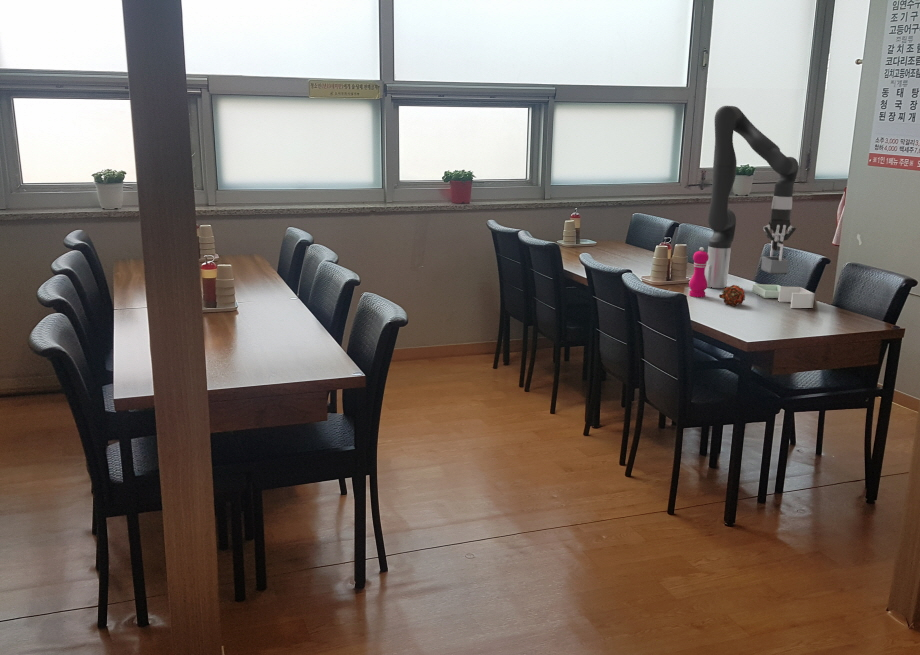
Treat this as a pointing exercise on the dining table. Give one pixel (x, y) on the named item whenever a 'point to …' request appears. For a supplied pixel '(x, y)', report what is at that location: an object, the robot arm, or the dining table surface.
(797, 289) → the bay
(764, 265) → the caddy
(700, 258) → the pepper mill
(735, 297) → the brown scaly oval lump
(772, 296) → the tray
